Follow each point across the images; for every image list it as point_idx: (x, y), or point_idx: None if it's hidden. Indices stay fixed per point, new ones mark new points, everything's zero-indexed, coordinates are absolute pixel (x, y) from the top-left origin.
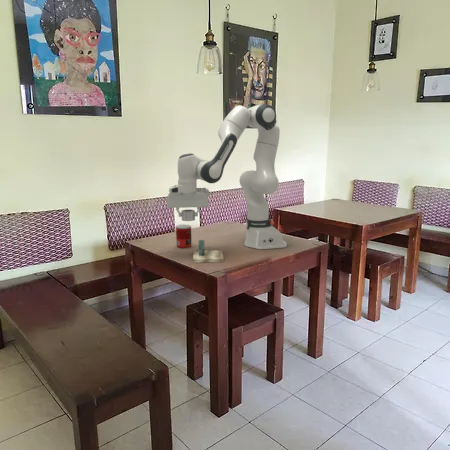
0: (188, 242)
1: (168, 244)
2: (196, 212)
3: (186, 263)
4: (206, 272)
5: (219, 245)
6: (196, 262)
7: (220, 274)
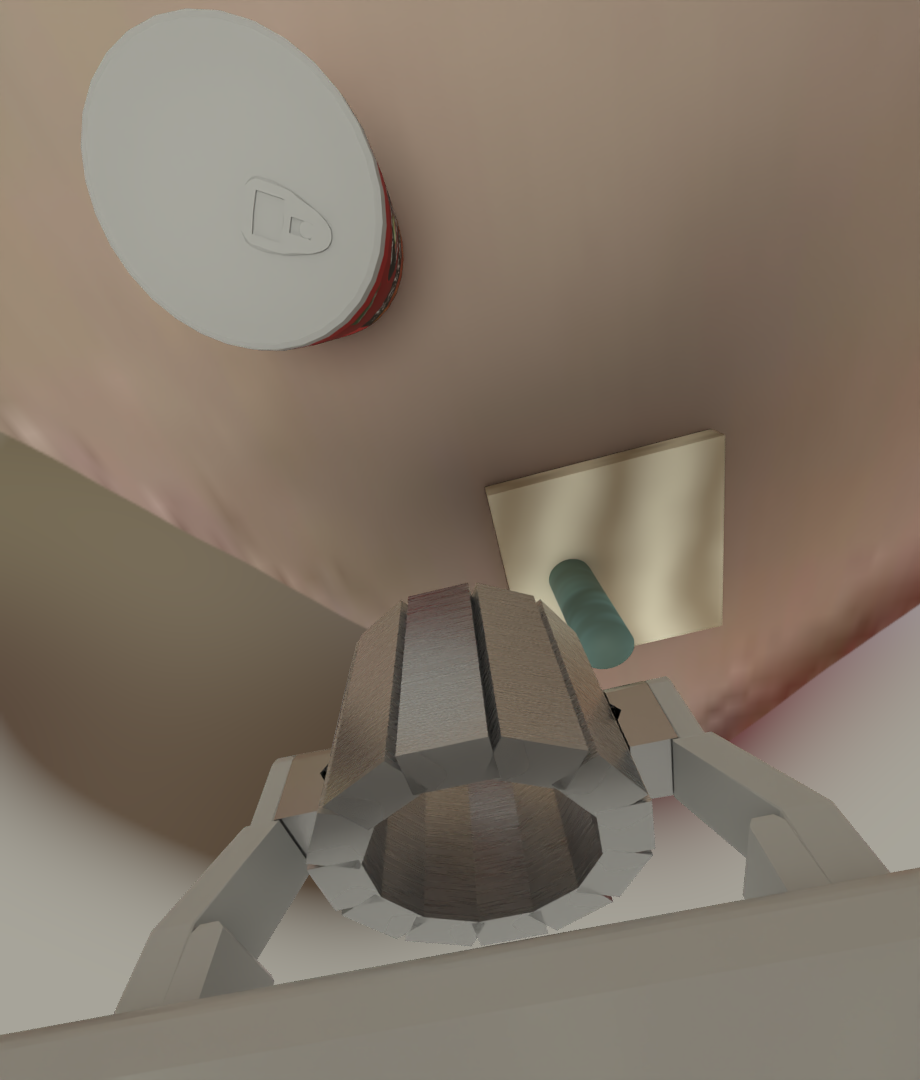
0: (385, 306)
1: None
2: (674, 776)
3: None
4: None
5: (704, 130)
6: None
7: None
